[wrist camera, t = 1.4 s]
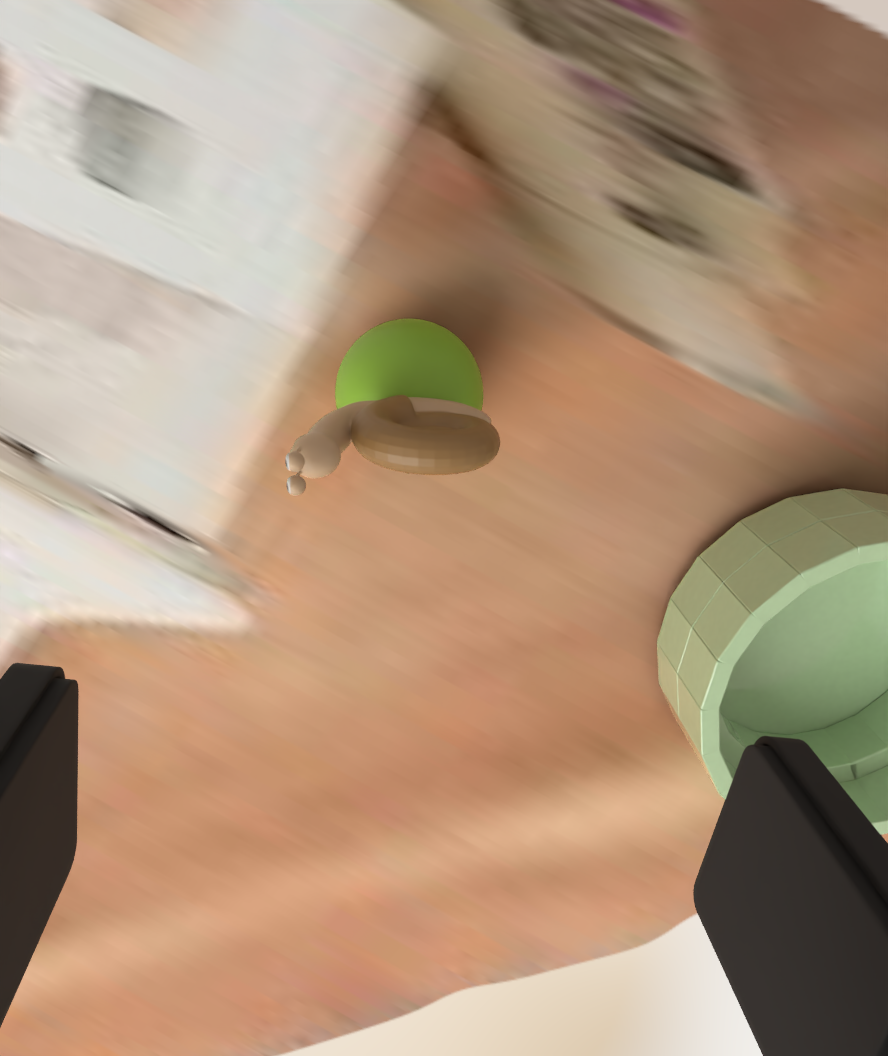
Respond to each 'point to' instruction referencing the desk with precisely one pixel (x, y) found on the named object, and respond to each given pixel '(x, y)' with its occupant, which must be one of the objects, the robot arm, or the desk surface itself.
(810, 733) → the green round bowl
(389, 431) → the snail figurine
